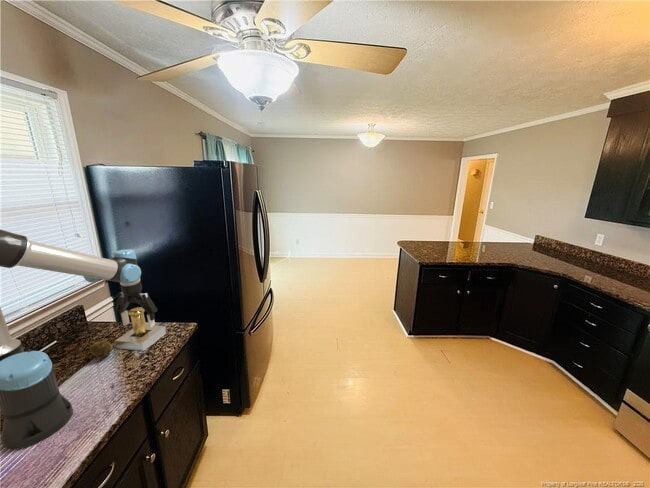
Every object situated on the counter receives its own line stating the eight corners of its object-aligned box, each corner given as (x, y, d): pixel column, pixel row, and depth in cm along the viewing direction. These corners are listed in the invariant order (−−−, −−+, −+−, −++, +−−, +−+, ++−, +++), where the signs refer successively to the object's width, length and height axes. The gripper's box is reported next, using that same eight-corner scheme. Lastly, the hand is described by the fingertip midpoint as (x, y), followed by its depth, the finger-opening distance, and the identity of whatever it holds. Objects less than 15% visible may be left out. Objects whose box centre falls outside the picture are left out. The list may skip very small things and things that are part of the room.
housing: (143, 350, 119) (142, 342, 118) (116, 348, 121) (114, 340, 120) (166, 333, 132) (164, 326, 131) (141, 331, 134) (139, 324, 133)
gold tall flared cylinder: (143, 345, 123) (136, 314, 119) (130, 344, 124) (124, 313, 120) (153, 337, 129) (147, 307, 125) (141, 336, 130) (135, 306, 126)
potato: (118, 344, 123) (114, 329, 121) (112, 360, 112) (108, 344, 110) (95, 350, 119) (91, 334, 118) (86, 367, 108) (82, 350, 107)
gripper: (161, 281, 121) (168, 322, 126) (114, 279, 125) (123, 319, 130) (148, 287, 114) (157, 331, 119) (99, 285, 118) (108, 327, 123)
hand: (139, 325), depth 124 cm, fingers open, 13 cm apart
